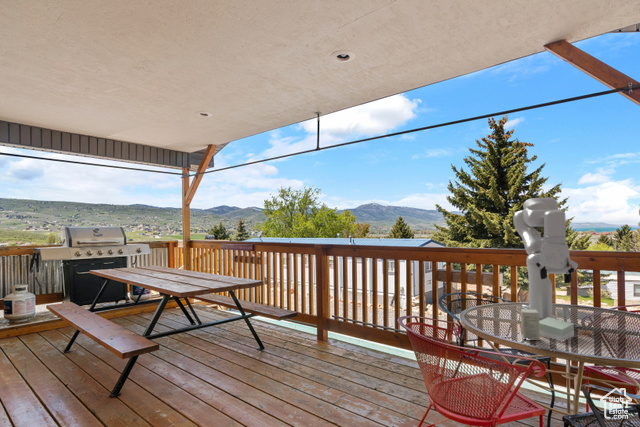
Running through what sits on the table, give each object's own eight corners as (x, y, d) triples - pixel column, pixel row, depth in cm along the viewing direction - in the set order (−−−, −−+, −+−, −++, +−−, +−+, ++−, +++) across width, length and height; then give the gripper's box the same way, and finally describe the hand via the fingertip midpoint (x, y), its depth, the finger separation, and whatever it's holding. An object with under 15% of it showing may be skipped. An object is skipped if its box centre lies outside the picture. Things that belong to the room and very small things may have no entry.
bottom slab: (536, 335, 155) (536, 328, 155) (549, 330, 160) (549, 323, 160) (561, 343, 146) (561, 336, 146) (574, 337, 151) (574, 330, 151)
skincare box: (537, 337, 152) (537, 309, 151) (540, 341, 148) (539, 312, 147) (520, 336, 154) (520, 308, 153) (522, 340, 150) (522, 311, 149)
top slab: (536, 329, 155) (536, 322, 154) (548, 323, 160) (548, 317, 160) (561, 336, 146) (561, 329, 146) (573, 330, 151) (573, 323, 151)
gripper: (529, 239, 155) (529, 278, 156) (571, 243, 140) (572, 286, 141) (540, 237, 159) (540, 275, 159) (582, 241, 143) (583, 283, 144)
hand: (555, 280), depth 150 cm, fingers open, 9 cm apart
